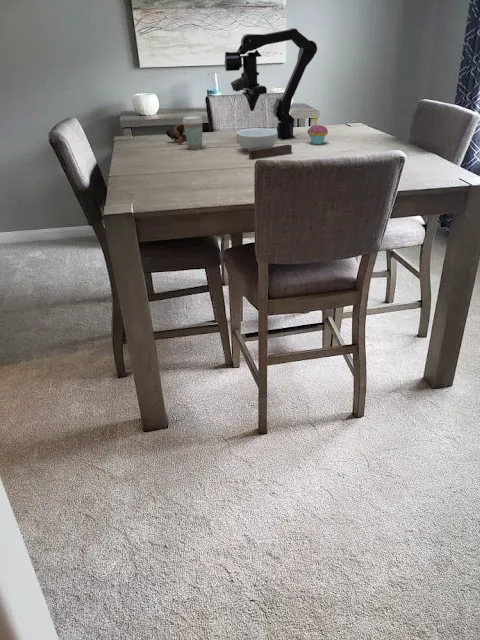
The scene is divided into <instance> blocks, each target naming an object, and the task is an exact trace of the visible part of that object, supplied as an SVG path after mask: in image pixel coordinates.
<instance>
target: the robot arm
mask: <svg viewBox="0 0 480 640" xmlns="http://www.w3.org/2000/svg"><path fill="white" fill-rule="evenodd" d="M288 41H291V42H293V44H295V46H296V47H297V48H299V49H298V53H297V60H296V64H295V66H294V68H293V70H292V73H291V75H290V78H289V80H288V81H287V85H286V87H285V88H284V92H283V94H282V95H281V97H280V98H279V97H276V99H275V103H274V105H273V106H272V108H273V111H272V113H273V116H274V117H276V118H277V121H278V122H277V126H276V131H277V132H278V137H277V139H281V140H286V139H295V138H296V136H295V135H294V121H295V118H294V117H293V116H292V115H291V114H290V112H291V109H292V100H293V98H294V96H295V94H296V91H297V89H298V87H299V84H300V82H301V80H302V78H303V76H304V73H305V71H306V69H307V66H308V65H309V64H310V63H311V62H312V60H313V58H314V57H315V56H316V54H317V52H318V46H317V43H316V41H313V40H309V39H308V38H307V37H306V36H305V35H304V34H302V33H301V32H300V31H299V30H298V29H297V28H292V27H291V28H289V29H284V30H278V31H273V32H268V33H261V34H260V33H245V34H243V36H242V37H241V40H240V45H239V47H238V48H237V51H224V69H225V72H234V71H235V72H236V71H237V72H238V71H241V70H240V69H242V70H243V71H242V72H241V74H240V77H239V78H236V79H235V80H233V81H231V82H230V85H231V88H232V91H233V92H240V91H242V92H241V94H242V95H243V96H244V97H245V98H246V101H247V103H248V108H249V110H250V112H254V110H255V108H256V105H257V103H258V101H259V97H260V95H266V94H267V93H268V88H267V87H266V86H265V85H260V83H259V82H258V76H260V72H259V71H258V62H257V61H258V59H257V58H261V57H262V54H261V53H260V52H259V50H258V49H260V48H262V47H264V46H266V45H271V44H277V43H278V44H279V43H283V42H288Z"/></svg>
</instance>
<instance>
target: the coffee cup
mask: <svg viewBox="0 0 480 640" xmlns="http://www.w3.org/2000/svg"><path fill="white" fill-rule="evenodd" d="M203 123H204V120H203V118H202V115H201V116H200V115H188V116H184V117H183V118H182V124H184V129H185V130H184V134H186V139H187V140H186V143H187V148H188V150H200V149H202V148H203Z"/></svg>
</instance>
